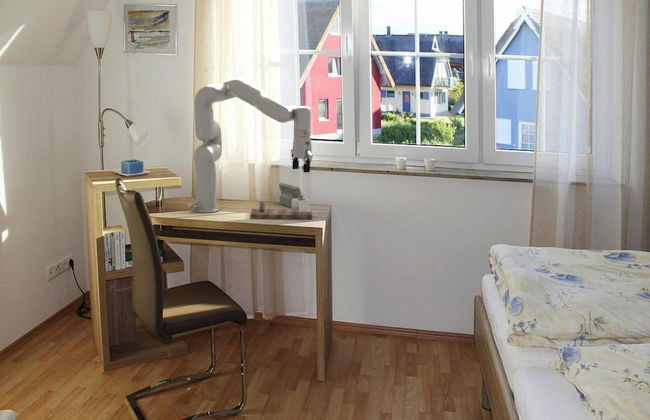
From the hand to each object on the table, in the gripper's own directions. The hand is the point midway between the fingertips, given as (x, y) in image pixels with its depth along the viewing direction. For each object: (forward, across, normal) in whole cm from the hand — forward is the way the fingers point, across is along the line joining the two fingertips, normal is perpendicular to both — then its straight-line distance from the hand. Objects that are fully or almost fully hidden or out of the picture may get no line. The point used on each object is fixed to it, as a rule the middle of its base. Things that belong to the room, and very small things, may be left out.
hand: (301, 170), depth 345 cm
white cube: (+20, 0, 0) cm, 20 cm away
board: (+22, +4, +8) cm, 23 cm away
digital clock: (+22, +24, -9) cm, 34 cm away
